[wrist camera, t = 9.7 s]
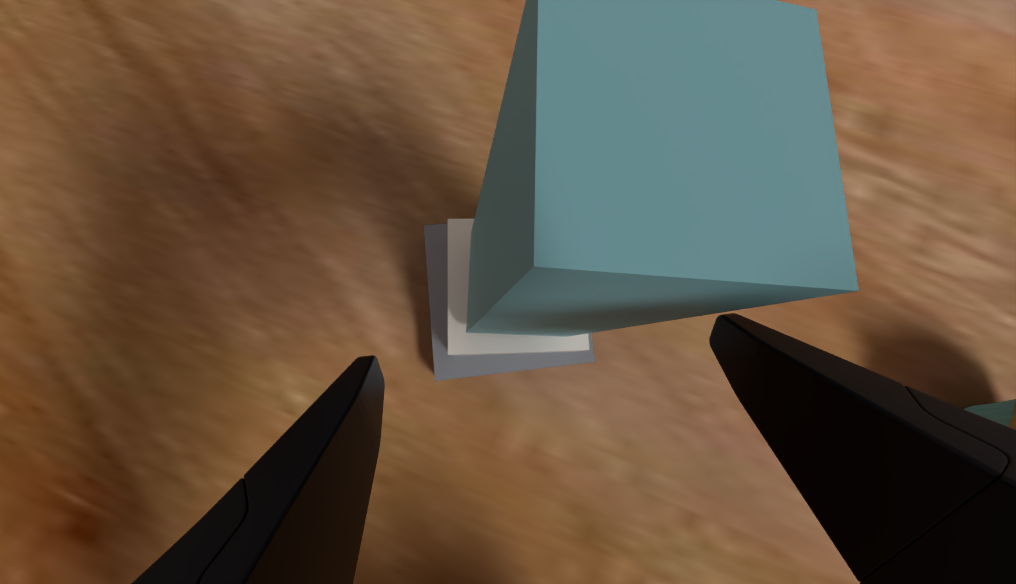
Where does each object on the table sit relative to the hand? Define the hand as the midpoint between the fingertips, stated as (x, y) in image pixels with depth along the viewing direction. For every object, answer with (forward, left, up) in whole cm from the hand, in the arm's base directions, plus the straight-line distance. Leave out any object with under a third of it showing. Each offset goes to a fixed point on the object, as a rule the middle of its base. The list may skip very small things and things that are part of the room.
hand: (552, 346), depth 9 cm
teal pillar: (+3, +1, -8) cm, 9 cm away
